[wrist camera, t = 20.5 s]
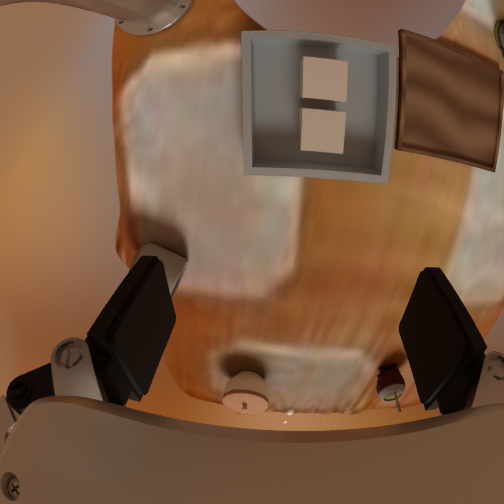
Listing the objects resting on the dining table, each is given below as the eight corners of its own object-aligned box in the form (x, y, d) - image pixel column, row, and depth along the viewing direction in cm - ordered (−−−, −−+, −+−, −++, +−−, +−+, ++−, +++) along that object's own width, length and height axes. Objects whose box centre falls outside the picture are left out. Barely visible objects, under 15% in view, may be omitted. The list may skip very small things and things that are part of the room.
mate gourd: (385, 379, 61) (394, 428, 48) (365, 373, 59) (374, 426, 47) (406, 364, 57) (419, 415, 44) (387, 356, 56) (400, 411, 43)
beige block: (299, 63, 28) (303, 56, 23) (337, 67, 28) (347, 61, 23) (299, 97, 31) (302, 97, 26) (336, 101, 31) (346, 102, 25)
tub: (246, 39, 28) (241, 31, 24) (382, 51, 26) (396, 45, 22) (248, 165, 37) (244, 175, 33) (375, 173, 36) (387, 183, 31)
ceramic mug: (149, 231, 45) (128, 257, 38) (192, 251, 46) (178, 279, 39) (139, 275, 50) (121, 302, 44) (177, 293, 51) (164, 322, 45)
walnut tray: (398, 30, 24) (401, 28, 23) (498, 71, 22) (503, 71, 21) (394, 148, 33) (397, 150, 32) (490, 170, 31) (494, 172, 30)
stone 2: (299, 106, 32) (302, 108, 27) (335, 110, 31) (346, 112, 26) (297, 142, 34) (300, 150, 29) (333, 144, 34) (342, 153, 29)
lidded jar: (272, 388, 65) (269, 419, 58) (231, 387, 67) (225, 417, 59) (269, 365, 60) (266, 400, 52) (223, 364, 62) (216, 398, 54)
